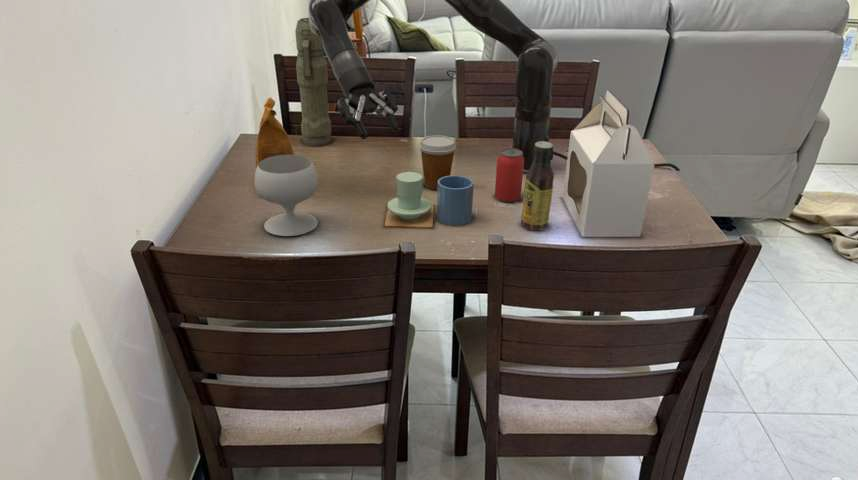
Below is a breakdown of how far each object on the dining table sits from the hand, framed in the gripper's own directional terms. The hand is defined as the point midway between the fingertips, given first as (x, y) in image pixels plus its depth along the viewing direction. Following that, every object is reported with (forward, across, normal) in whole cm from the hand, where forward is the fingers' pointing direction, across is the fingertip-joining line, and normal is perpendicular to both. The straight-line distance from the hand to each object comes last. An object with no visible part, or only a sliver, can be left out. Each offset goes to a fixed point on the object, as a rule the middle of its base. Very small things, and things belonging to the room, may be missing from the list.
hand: (380, 133), depth 158 cm
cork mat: (+20, 0, -4) cm, 21 cm away
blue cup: (+25, -8, +1) cm, 26 cm away
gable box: (+40, -36, +15) cm, 56 cm away
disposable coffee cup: (+12, -17, -12) cm, 24 cm away
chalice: (+12, +25, -13) cm, 30 cm away
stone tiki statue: (-22, -9, -46) cm, 52 cm away
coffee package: (-4, +17, -28) cm, 33 cm away
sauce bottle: (+35, -20, +11) cm, 42 cm away
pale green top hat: (+20, 0, -4) cm, 20 cm away
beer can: (+24, -26, 0) cm, 36 cm away
